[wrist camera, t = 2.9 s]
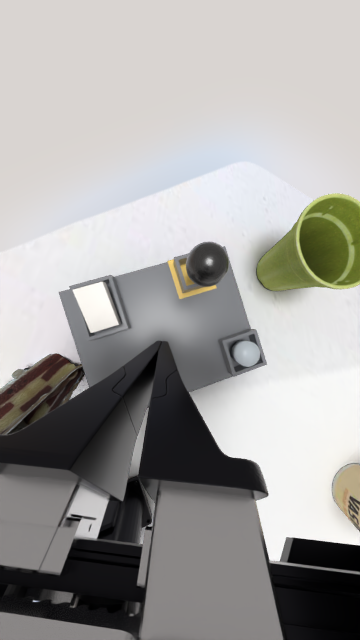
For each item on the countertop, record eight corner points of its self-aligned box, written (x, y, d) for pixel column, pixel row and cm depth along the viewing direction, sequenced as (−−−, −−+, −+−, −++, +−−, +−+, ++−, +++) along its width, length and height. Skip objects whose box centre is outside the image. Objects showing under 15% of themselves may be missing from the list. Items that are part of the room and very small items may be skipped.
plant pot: (303, 246, 23) (384, 200, 14) (299, 304, 23) (380, 293, 14) (248, 239, 22) (299, 185, 14) (244, 298, 22) (293, 283, 13)
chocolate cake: (57, 331, 20) (-114, 411, 11) (91, 359, 19) (-77, 479, 10) (71, 366, 26) (-33, 437, 17) (98, 390, 25) (-1, 481, 16)
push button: (256, 359, 18) (263, 361, 17) (235, 367, 18) (240, 370, 17) (249, 337, 18) (255, 338, 17) (228, 344, 18) (232, 346, 17)
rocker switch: (121, 323, 17) (118, 324, 16) (94, 331, 17) (90, 333, 16) (105, 282, 16) (102, 281, 15) (77, 290, 16) (72, 289, 15)
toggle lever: (200, 285, 18) (224, 294, 8) (180, 279, 18) (180, 280, 8) (207, 264, 18) (243, 245, 7) (186, 258, 17) (195, 228, 7)
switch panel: (251, 360, 22) (273, 370, 17) (109, 411, 20) (92, 437, 15) (218, 254, 22) (231, 236, 17) (72, 295, 20) (44, 287, 15)
